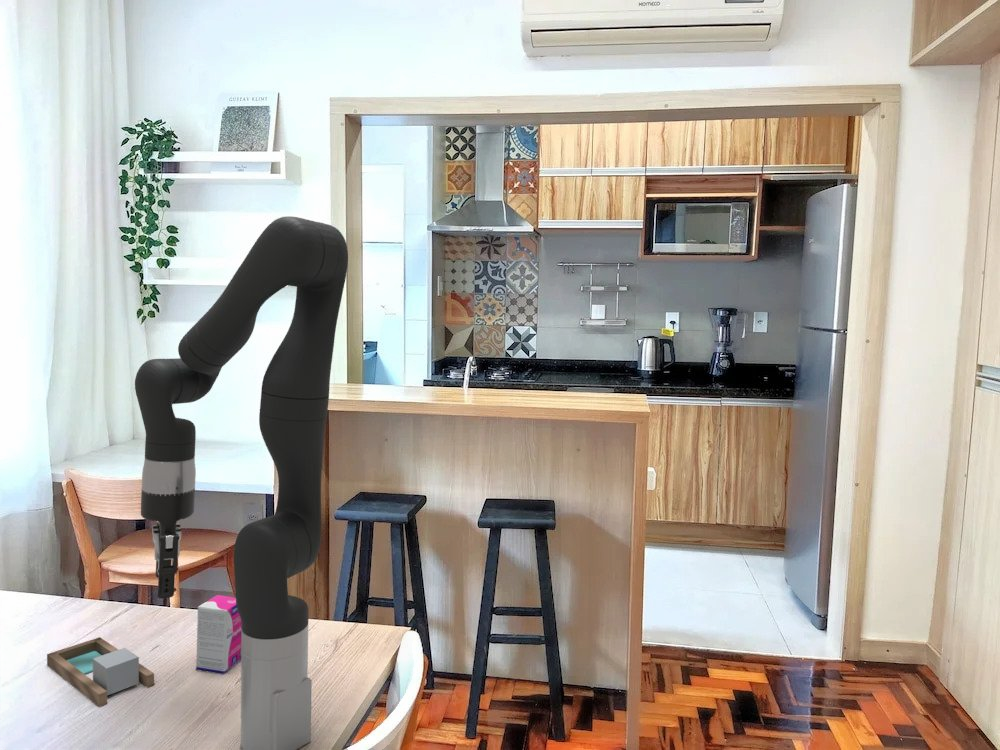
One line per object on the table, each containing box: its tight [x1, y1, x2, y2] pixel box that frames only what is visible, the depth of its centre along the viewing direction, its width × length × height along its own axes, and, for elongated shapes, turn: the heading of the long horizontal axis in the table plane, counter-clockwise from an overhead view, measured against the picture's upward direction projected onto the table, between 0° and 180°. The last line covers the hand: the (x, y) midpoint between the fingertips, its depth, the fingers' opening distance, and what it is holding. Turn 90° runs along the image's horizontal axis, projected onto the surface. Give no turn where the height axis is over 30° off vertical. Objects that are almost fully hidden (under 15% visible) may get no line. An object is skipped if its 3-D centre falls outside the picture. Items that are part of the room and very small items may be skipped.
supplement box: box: [195, 594, 242, 675], centre depth 121 cm, size 6×6×12 cm
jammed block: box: [92, 647, 140, 696], centre depth 113 cm, size 5×5×4 cm
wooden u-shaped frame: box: [46, 637, 155, 708], centre depth 116 cm, size 20×9×2 cm, turn 53°
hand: (164, 586), depth 108 cm, fingers open, 8 cm apart
